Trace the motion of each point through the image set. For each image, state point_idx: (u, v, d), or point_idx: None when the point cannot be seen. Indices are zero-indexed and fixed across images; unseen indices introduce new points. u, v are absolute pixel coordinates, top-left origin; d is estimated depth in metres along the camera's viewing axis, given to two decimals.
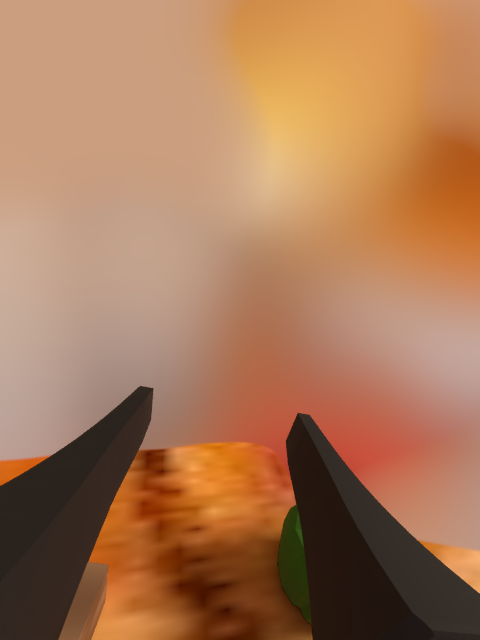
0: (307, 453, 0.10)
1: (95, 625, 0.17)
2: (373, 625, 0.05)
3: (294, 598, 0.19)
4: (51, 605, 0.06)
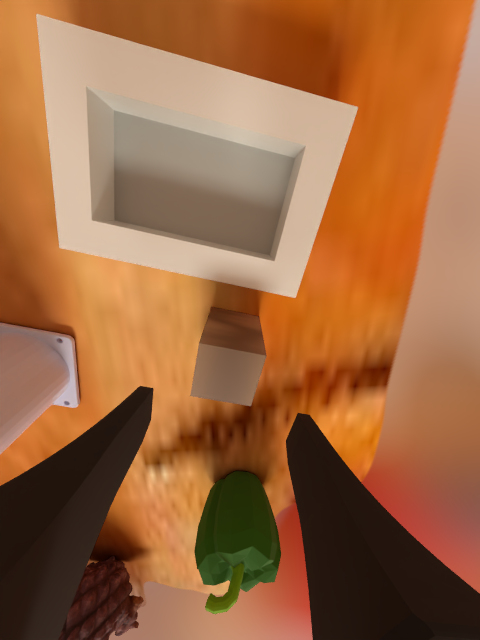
0: (307, 453, 0.10)
1: None
2: (373, 625, 0.05)
3: (223, 491, 0.24)
4: (51, 605, 0.06)
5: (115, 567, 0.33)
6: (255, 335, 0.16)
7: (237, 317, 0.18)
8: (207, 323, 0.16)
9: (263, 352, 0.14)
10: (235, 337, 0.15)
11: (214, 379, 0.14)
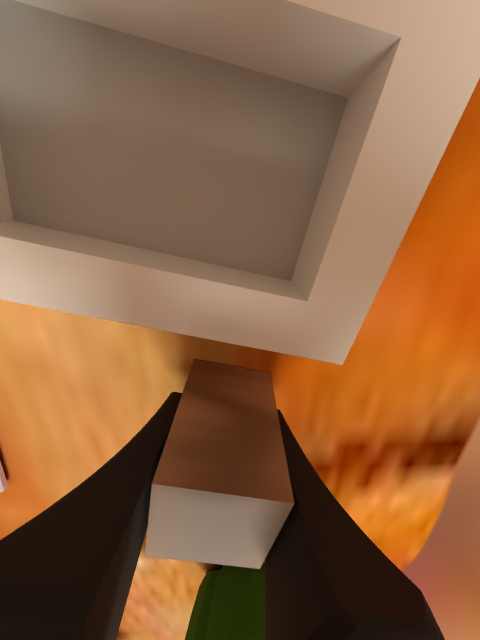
0: None
1: None
2: (309, 619, 0.05)
3: (217, 600, 0.17)
4: (115, 611, 0.06)
5: None
6: (267, 429, 0.09)
7: (235, 381, 0.11)
8: (180, 407, 0.09)
9: (287, 490, 0.07)
10: (229, 445, 0.08)
11: (189, 534, 0.07)
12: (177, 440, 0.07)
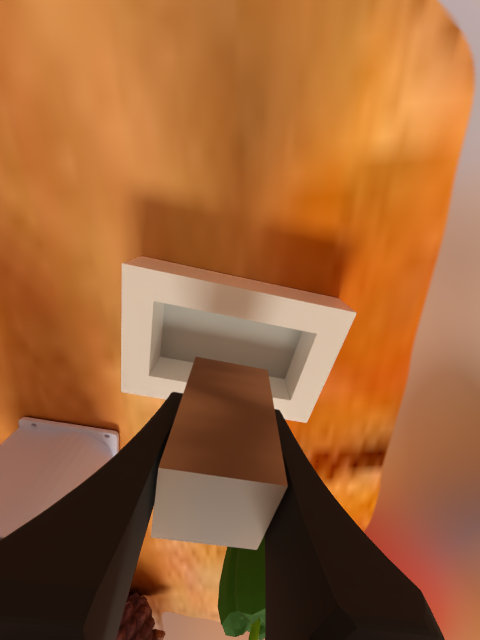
0: None
1: None
2: (309, 619, 0.05)
3: (241, 549, 0.28)
4: (115, 611, 0.06)
5: (140, 604, 0.36)
6: (264, 421, 0.09)
7: (234, 377, 0.11)
8: (183, 400, 0.09)
9: (281, 475, 0.07)
10: (228, 435, 0.08)
11: (191, 516, 0.08)
12: (180, 430, 0.08)
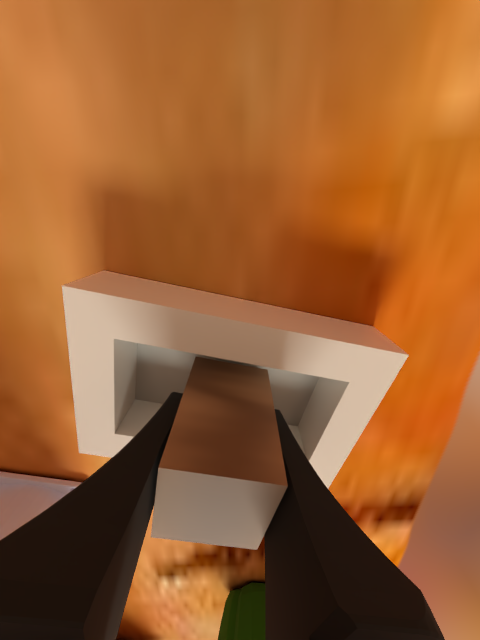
0: None
1: None
2: (309, 619, 0.05)
3: (240, 614, 0.23)
4: (115, 611, 0.06)
5: None
6: (264, 421, 0.09)
7: (234, 377, 0.11)
8: (183, 400, 0.09)
9: (281, 475, 0.07)
10: (228, 434, 0.08)
11: (192, 516, 0.08)
12: (180, 430, 0.08)
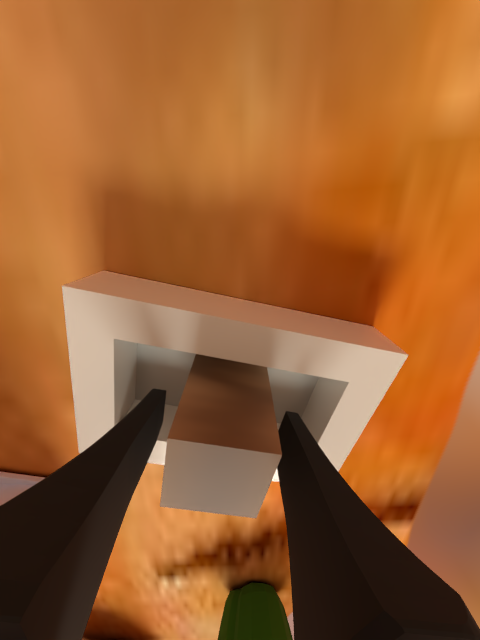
0: (293, 450, 0.09)
1: None
2: (348, 623, 0.05)
3: (240, 614, 0.23)
4: (77, 607, 0.06)
5: None
6: (262, 402, 0.10)
7: (234, 365, 0.12)
8: (188, 384, 0.10)
9: (276, 446, 0.08)
10: (229, 413, 0.09)
11: (197, 485, 0.09)
12: (186, 408, 0.09)
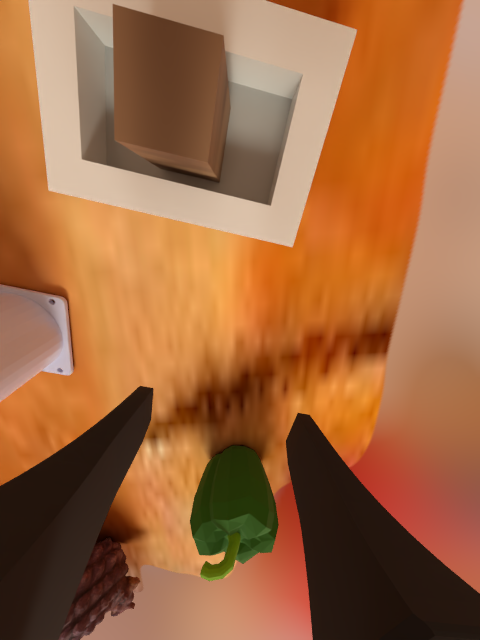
0: (308, 453, 0.10)
1: (199, 177, 0.15)
2: (373, 625, 0.05)
3: (220, 463, 0.24)
4: (51, 605, 0.06)
5: (111, 547, 0.32)
6: None
7: None
8: None
9: None
10: None
11: (147, 97, 0.09)
12: None
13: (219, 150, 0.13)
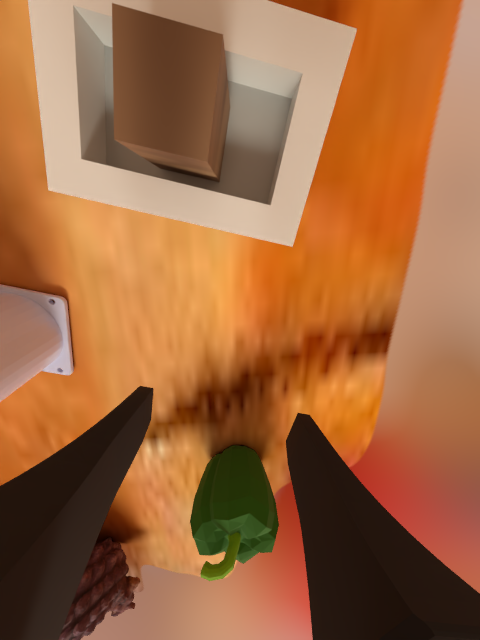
0: (308, 453, 0.10)
1: (199, 176, 0.15)
2: (373, 625, 0.05)
3: (220, 463, 0.24)
4: (51, 605, 0.06)
5: (111, 547, 0.32)
6: None
7: None
8: None
9: None
10: None
11: (146, 97, 0.09)
12: None
13: (219, 149, 0.13)
